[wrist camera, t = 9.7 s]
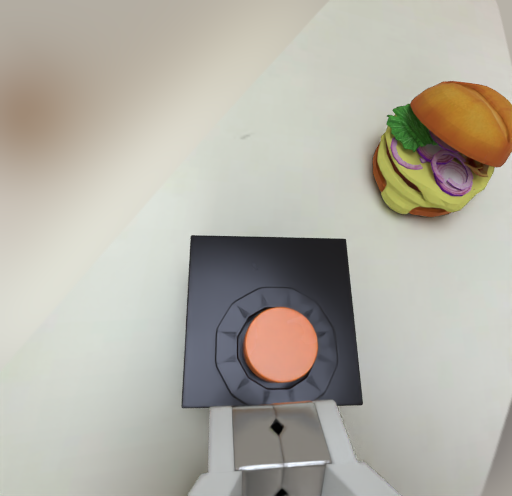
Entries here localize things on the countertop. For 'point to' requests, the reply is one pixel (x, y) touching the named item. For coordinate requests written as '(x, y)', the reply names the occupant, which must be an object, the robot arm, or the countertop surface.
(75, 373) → the countertop surface
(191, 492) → the robot arm
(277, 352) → the orange button cap
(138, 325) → the countertop surface
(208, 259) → the black push button box
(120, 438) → the countertop surface
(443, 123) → the cheeseburger
